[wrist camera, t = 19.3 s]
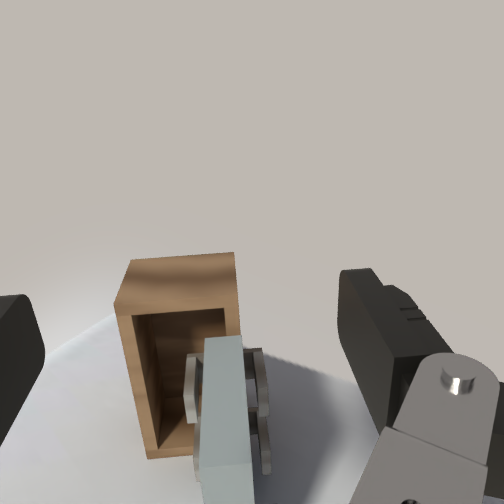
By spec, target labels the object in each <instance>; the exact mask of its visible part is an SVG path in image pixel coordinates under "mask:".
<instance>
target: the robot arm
mask: <svg viewBox="0 0 504 504" xmlns="http://www.w3.org/2000/svg"><path fill="white" fill-rule="evenodd" d="M337 325H338V333H339V339H340V343H341V345H342V348H343V350H344V352H345V355H346V357H347V359H348V362H349V364H350V366H351V369H352V371H353V374H354V376H355V378H356V381H357V383H358V386H359V388H360V390H361V393H362V395H363V397H364V400H365V402H366V404H367V407H368V409H369V412H370V414H371V416H372V419H373V421H374V423H375V426H376V428H377V431H378V433H379V435H380V437H379V439H378V441H377V443H376V446H375V448H374V450H373V452H372V454H371V457H370V459H369V461H368V463H367V465H366V468H365V470H364V472H363V474H362V476H361V479H360V481H359V483H358V485H357V487H356V490H355V492H354V494H353V496H352V498H351V501H350V503H349V504H482V500H483V495H486V496H491V497H496V498H501V499H504V383H502V382H499V381H498V379H497V377H496V376H495V374H494V373H493V372H492V371H491V370H490V369H489V368H488V367H486V366H485V365H484V364H482V363H480V362H479V361H477V360H475V359H472V358H470V357H467V356H464V355H460V354H455V353H454V352H453V351H452V350H451V348H450V347H449V346H448V345H447V343H446V342H445V341H444V339H443V338H442V337H441V336H440V334H439V333H438V332H437V330H436V329H435V328H434V327H433V325H432V324H431V323H430V321H429V320H426V316H425V315H424V314H423V313H422V311H421V310H419V309H418V306H417V305H416V303H415V302H414V301H413V300H412V299H411V297H410V296H409V295H408V294H407V293H405V292H403V291H402V290H400V289H398V288H397V287H395V286H394V285H387V286H383V284H382V283H381V282H380V280H379V279H378V277H377V276H376V275H375V273H374V272H373V271H372V269H371V268H365V269H351V270H342V271H341V273H340V277H339V297H338V317H337ZM44 360H45V347H44V343H43V340H42V336H41V333H40V330H39V327H38V324H37V320H36V317H35V314H34V311H33V308H32V304H31V302H30V300H29V298H28V297H27V296H26V295H24V294H20V295H8V296H0V446H1V444H2V443H3V441H4V439H5V437H6V435H7V433H8V431H9V430H10V428H11V426H12V424H13V422H14V420H15V418H16V417H17V415H18V413H19V411H20V409H21V407H22V405H23V404H24V402H25V400H26V398H27V396H28V394H29V392H30V391H31V389H32V387H33V385H34V383H35V381H36V379H37V378H38V376H39V374H40V372H41V370H42V368H43V365H44Z"/></svg>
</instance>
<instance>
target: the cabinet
mask: <svg viewBox="0 0 504 504" xmlns="http://www.w3.org/2000/svg"><path fill="white" fill-rule="evenodd" d="M236 281H237V280H236V269H235V258H234V252H228V253H216V254H201V255H188V256H175V257H161V258H148V259H135V260H131V261H130V264H129V266H128V269H127V271H126V274H125V277H124V279H123V281H122V284H121V286H120V289H119V291H118V294H117V297H116V299H115V302H114V308H115V313H116V318H117V322H118V327H119V332H120V336H121V341H122V345H123V350H124V355H125V359H126V364H127V368H128V373H129V377H130V382H131V387H132V391H133V396H134V400H135V405H136V409H137V414H138V419H139V423H140V428H141V432H142V437H143V442H144V446H145V451H146V455H147V459H155V458H166V457H176V456H186V455H193V462H194V469H195V476H196V482H201V481H200V474H199V451H200V429H201V408H202V387H203V365H204V344H205V338H212V337H224V336H237V335H241V334H240V319H239V305H238V292H237V282H236ZM243 359H244V371H245V379H255V385H256V393H257V402H258V407H254V408H248V421H249V433H250V435H253V434H258V440H259V449H260V458H261V467H262V475H271V451H270V443H269V436H268V429H267V421H266V416H269V401H268V385H267V378H266V372H265V365H264V359H263V352H262V348H252V349H243Z"/></svg>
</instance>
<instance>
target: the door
mask: <svg viewBox="0 0 504 504" xmlns="http://www.w3.org/2000/svg"><path fill="white" fill-rule="evenodd" d="M199 474H200V481H201V487H202V494H203V501H204V504H255V502H254V487H253V472H252V458H251V446H250V433H249V421H248V408H247V396H246V384H245V371H244V359H243V346H242V336H241V335H237V336H224V337H212V338H205V344H204V365H203V387H202V408H201V429H200V451H199Z"/></svg>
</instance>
